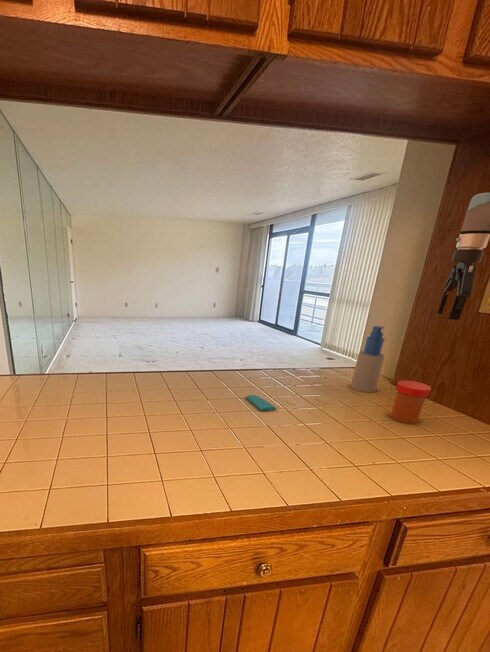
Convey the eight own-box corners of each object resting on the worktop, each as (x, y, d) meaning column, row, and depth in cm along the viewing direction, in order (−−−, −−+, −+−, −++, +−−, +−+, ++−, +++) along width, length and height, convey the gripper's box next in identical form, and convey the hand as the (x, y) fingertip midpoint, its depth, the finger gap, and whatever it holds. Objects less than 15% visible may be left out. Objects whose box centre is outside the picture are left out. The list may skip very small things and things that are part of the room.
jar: (422, 421, 112) (433, 390, 108) (406, 425, 109) (417, 392, 105) (400, 412, 119) (409, 382, 114) (384, 415, 116) (393, 384, 112)
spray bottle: (380, 390, 138) (397, 327, 129) (364, 393, 135) (381, 329, 125) (360, 383, 146) (375, 323, 136) (345, 386, 143) (360, 325, 133)
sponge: (260, 394, 129) (246, 393, 127) (276, 407, 118) (261, 406, 117) (259, 398, 129) (245, 397, 128) (275, 411, 119) (260, 411, 117)
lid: (415, 398, 105) (418, 391, 104) (389, 388, 113) (391, 382, 112) (435, 394, 108) (438, 388, 107) (408, 385, 116) (410, 379, 115)
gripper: (444, 250, 122) (425, 311, 131) (468, 247, 101) (444, 320, 109) (470, 250, 120) (449, 312, 128) (501, 248, 99) (474, 323, 107)
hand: (447, 316), depth 119 cm, fingers open, 13 cm apart
